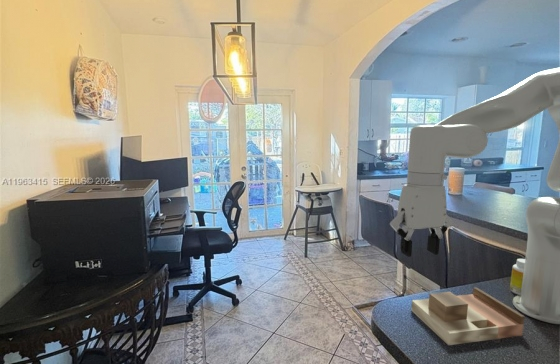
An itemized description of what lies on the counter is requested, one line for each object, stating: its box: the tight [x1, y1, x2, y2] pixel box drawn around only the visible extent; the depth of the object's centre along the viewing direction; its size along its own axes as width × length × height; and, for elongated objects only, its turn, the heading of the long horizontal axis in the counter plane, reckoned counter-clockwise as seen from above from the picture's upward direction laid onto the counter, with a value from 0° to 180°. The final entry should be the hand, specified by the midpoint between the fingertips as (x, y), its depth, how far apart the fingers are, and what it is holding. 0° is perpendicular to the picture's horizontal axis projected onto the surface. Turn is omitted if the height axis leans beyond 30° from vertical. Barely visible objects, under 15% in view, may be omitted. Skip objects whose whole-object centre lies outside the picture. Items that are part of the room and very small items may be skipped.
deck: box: [411, 286, 525, 346], centre depth 76 cm, size 20×14×5 cm
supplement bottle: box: [509, 258, 525, 296], centre depth 90 cm, size 6×6×10 cm
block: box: [428, 291, 468, 322], centre depth 74 cm, size 6×6×4 cm
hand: (419, 252), depth 71 cm, fingers open, 6 cm apart
